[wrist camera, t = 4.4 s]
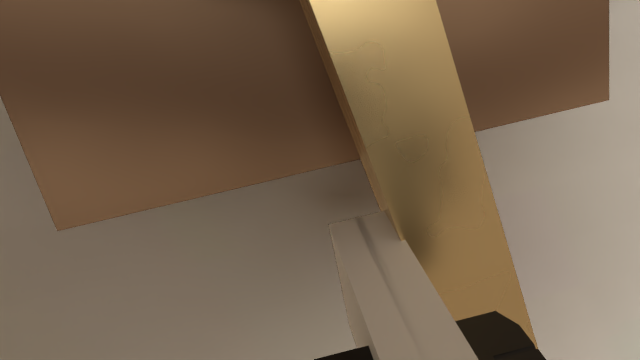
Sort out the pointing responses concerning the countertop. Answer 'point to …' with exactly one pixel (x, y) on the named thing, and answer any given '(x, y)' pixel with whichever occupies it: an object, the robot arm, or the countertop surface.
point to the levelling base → (244, 90)
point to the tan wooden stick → (419, 146)
